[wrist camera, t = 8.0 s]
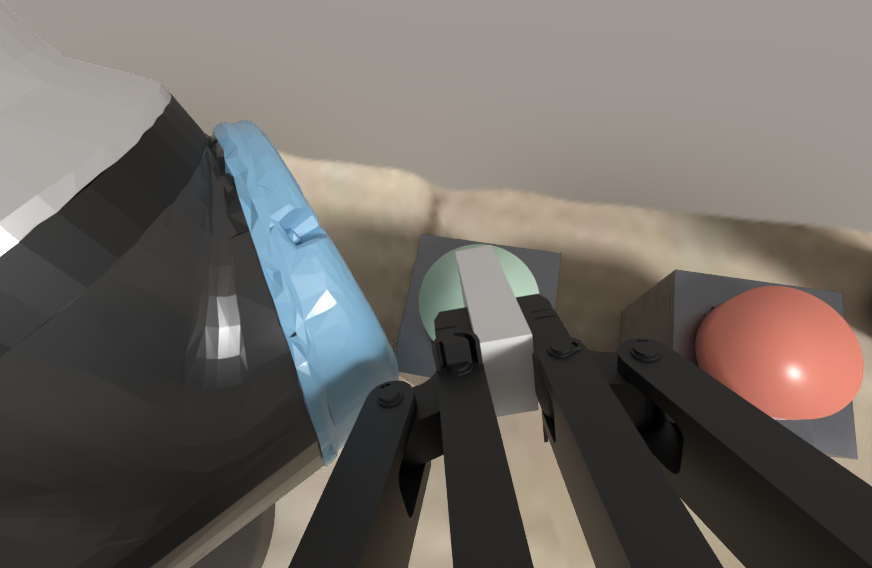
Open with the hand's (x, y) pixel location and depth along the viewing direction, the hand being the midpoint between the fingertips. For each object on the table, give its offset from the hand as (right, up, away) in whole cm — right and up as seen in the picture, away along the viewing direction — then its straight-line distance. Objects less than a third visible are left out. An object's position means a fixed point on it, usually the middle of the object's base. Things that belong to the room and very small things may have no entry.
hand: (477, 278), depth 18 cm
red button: (+15, -6, +11) cm, 19 cm away
